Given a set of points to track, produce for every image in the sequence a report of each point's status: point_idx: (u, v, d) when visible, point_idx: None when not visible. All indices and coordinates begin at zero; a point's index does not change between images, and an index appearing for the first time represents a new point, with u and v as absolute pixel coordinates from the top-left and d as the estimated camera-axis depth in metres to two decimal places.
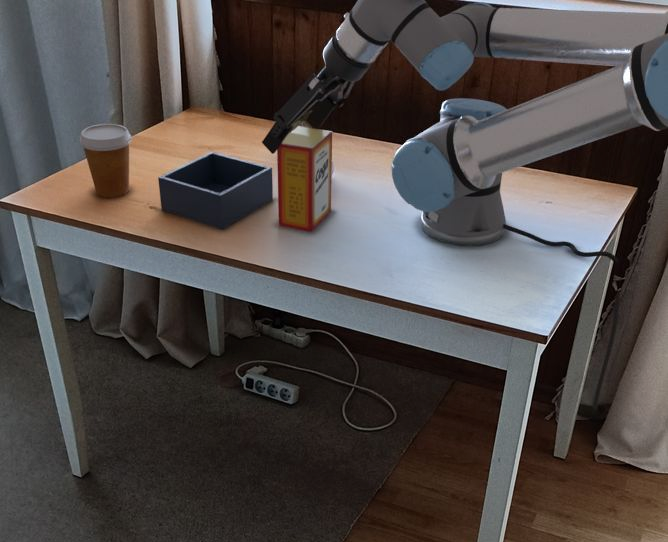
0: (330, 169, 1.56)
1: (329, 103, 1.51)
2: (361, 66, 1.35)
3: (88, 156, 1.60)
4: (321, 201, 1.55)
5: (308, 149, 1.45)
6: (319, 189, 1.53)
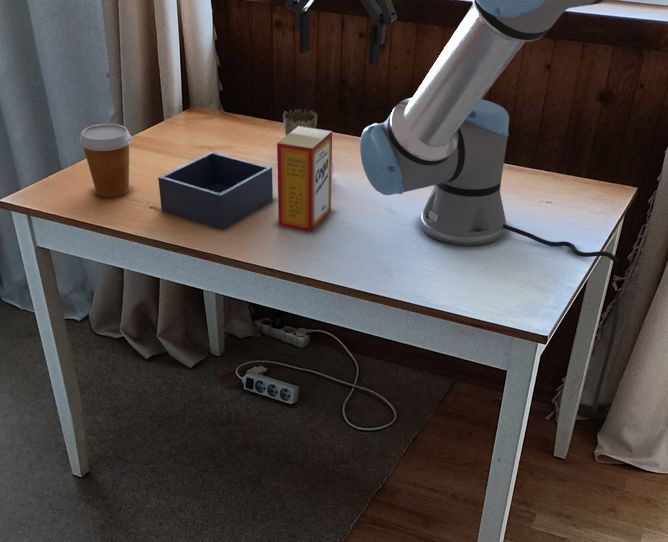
0: (330, 169, 1.56)
1: None
2: None
3: (88, 156, 1.60)
4: (321, 201, 1.55)
5: (308, 149, 1.45)
6: (319, 189, 1.53)
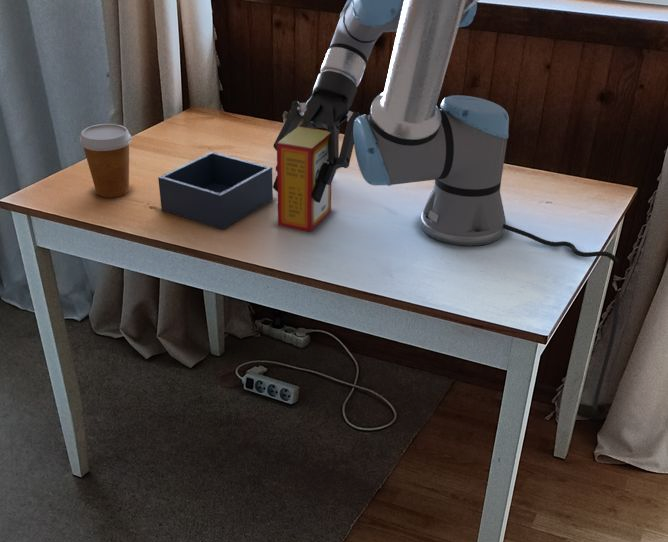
0: None
1: None
2: (324, 71, 1.53)
3: (88, 156, 1.60)
4: (321, 201, 1.55)
5: (308, 149, 1.45)
6: None
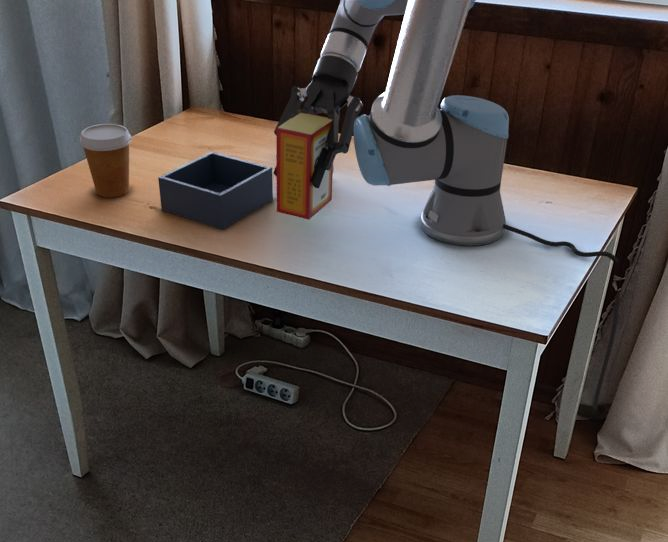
0: None
1: None
2: (324, 55, 1.51)
3: (88, 156, 1.60)
4: (320, 189, 1.53)
5: (307, 136, 1.44)
6: None
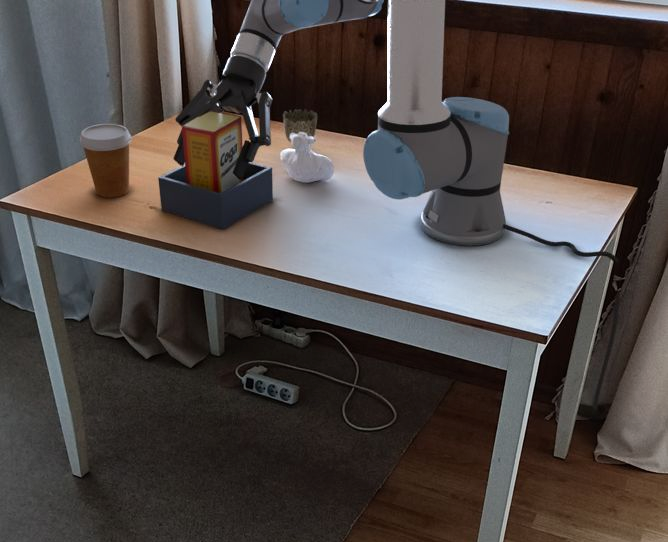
0: None
1: None
2: (233, 56, 1.57)
3: (88, 156, 1.60)
4: (230, 185, 1.59)
5: (210, 133, 1.49)
6: (226, 172, 1.56)
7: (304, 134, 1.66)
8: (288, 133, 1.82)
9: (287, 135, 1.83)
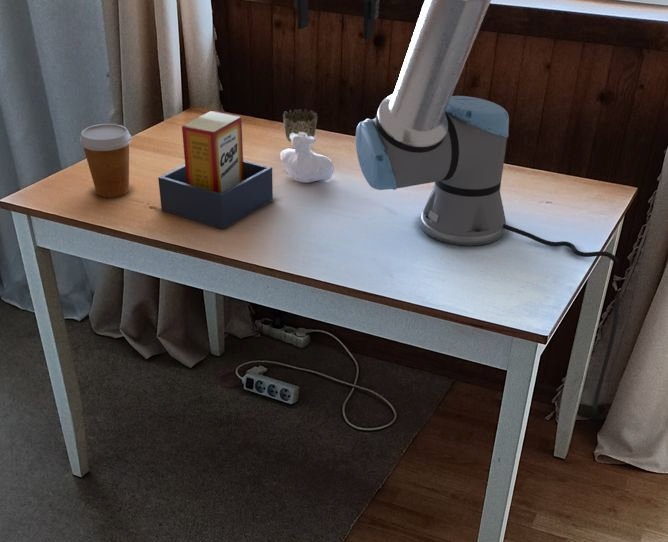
0: (241, 154, 1.59)
1: None
2: None
3: (88, 156, 1.60)
4: (230, 185, 1.59)
5: (210, 133, 1.49)
6: (226, 172, 1.56)
7: (304, 134, 1.66)
8: (288, 133, 1.82)
9: (287, 135, 1.83)
